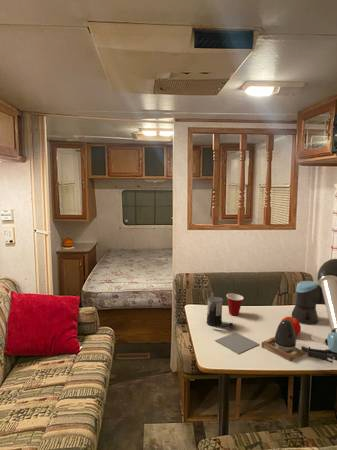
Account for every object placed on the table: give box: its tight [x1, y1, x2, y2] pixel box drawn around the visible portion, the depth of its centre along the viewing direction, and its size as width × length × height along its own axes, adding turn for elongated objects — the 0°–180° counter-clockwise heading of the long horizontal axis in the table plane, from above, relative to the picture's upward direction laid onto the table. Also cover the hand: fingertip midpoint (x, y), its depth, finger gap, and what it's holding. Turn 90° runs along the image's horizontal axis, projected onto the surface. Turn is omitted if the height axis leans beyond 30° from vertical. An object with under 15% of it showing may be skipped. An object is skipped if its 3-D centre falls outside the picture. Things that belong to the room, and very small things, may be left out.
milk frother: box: [206, 296, 236, 328], centre depth 183 cm, size 14×16×15 cm
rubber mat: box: [214, 331, 260, 355], centre depth 163 cm, size 16×16×1 cm
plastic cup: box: [226, 293, 244, 317], centre depth 199 cm, size 11×11×12 cm
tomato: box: [281, 316, 302, 336], centre depth 174 cm, size 11×11×9 cm
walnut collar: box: [261, 336, 308, 362], centre depth 158 cm, size 16×16×2 cm
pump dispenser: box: [274, 319, 297, 353], centre depth 157 cm, size 10×10×15 cm
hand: (304, 340), depth 149 cm, fingers open, 13 cm apart
